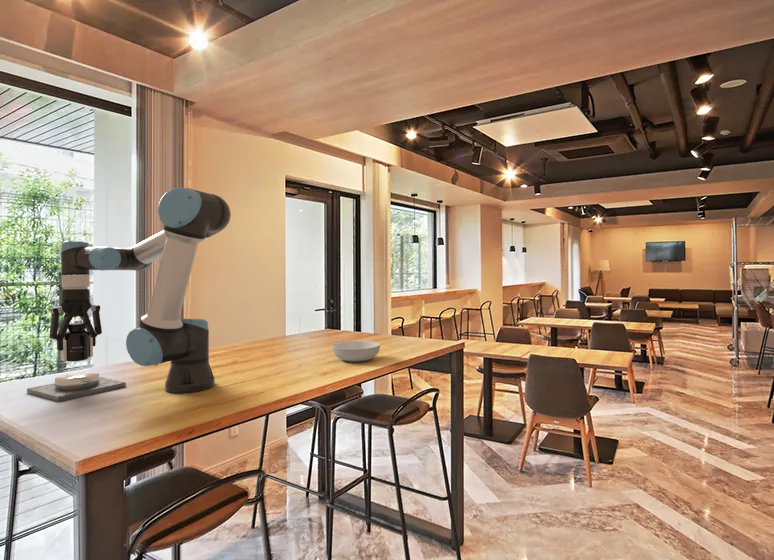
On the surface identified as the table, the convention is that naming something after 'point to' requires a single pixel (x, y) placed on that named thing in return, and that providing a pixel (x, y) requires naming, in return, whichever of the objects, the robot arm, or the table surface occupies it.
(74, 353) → the supplement bottle
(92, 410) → the table surface
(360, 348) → the serving bowl
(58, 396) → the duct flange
